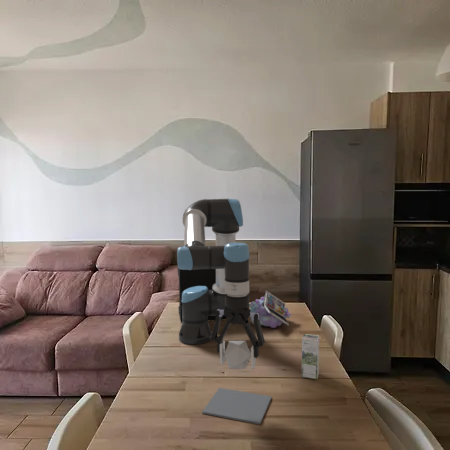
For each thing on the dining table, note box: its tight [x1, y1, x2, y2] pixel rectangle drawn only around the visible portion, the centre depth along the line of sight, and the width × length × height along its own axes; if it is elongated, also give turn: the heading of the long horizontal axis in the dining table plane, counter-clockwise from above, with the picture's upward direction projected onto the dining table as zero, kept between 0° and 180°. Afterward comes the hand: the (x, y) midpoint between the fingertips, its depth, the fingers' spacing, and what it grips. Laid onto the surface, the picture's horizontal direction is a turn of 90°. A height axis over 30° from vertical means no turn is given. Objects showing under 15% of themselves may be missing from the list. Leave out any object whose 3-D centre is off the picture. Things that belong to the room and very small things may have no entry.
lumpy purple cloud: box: [249, 290, 292, 329], centre depth 195 cm, size 20×22×18 cm
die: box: [224, 340, 251, 370], centre depth 120 cm, size 8×9×10 cm
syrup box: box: [301, 333, 320, 380], centre depth 140 cm, size 6×6×14 cm
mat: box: [201, 387, 272, 425], centre depth 122 cm, size 18×15×1 cm
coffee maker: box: [177, 267, 227, 323], centre depth 208 cm, size 28×20×35 cm
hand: (237, 364), depth 120 cm, fingers closed on die, 9 cm apart
